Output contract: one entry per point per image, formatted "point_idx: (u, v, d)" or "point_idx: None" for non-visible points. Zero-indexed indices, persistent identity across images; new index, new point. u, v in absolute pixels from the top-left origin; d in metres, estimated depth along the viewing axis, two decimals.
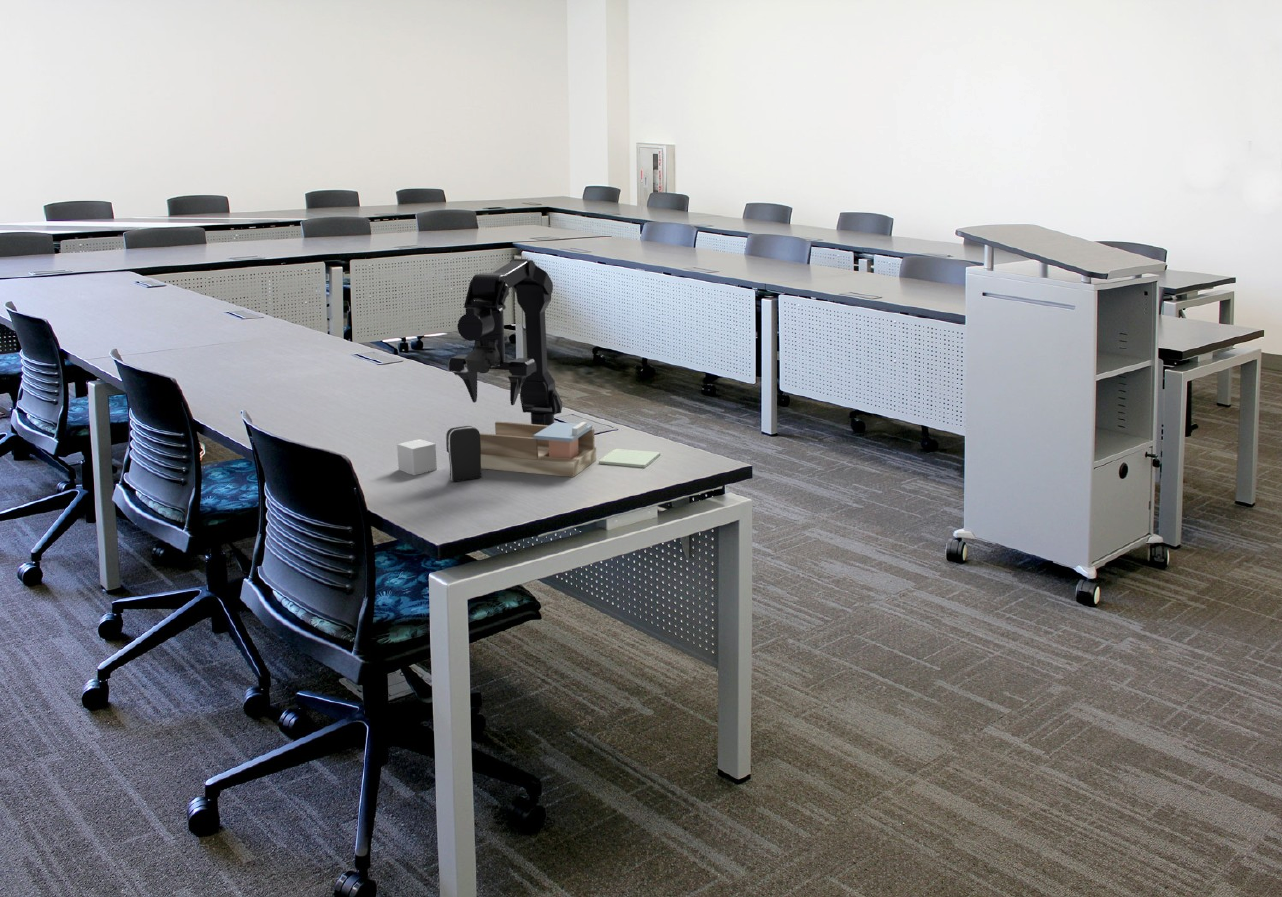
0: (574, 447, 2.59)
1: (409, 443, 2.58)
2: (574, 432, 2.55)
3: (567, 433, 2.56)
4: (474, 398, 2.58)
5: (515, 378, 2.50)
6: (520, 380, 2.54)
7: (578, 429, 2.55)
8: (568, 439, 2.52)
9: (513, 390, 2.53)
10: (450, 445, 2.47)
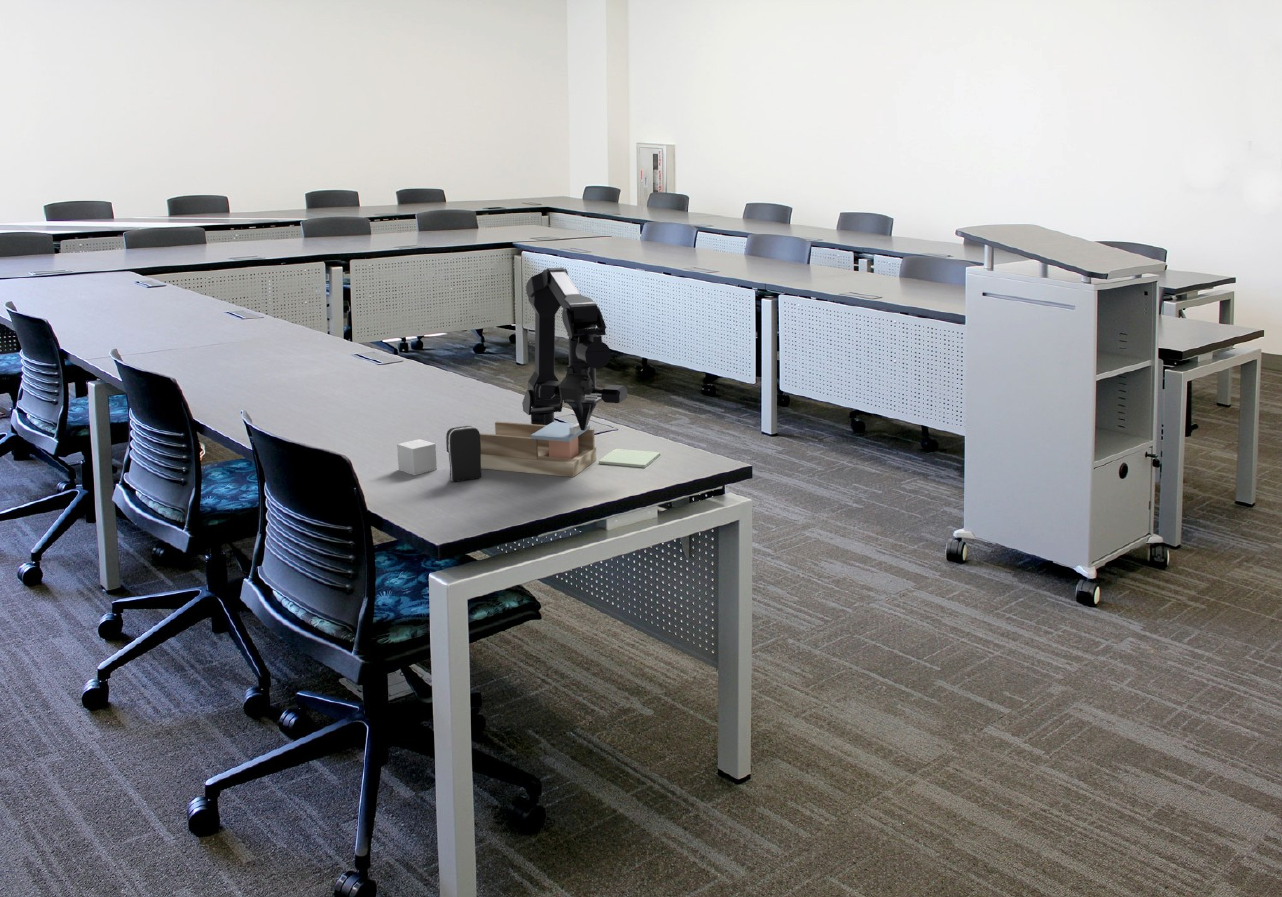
0: (574, 447, 2.59)
1: (409, 443, 2.58)
2: (571, 432, 2.55)
3: (564, 433, 2.56)
4: (582, 426, 2.57)
5: (588, 404, 2.52)
6: (592, 405, 2.56)
7: (575, 429, 2.55)
8: (565, 439, 2.52)
9: (585, 416, 2.55)
10: (450, 445, 2.47)
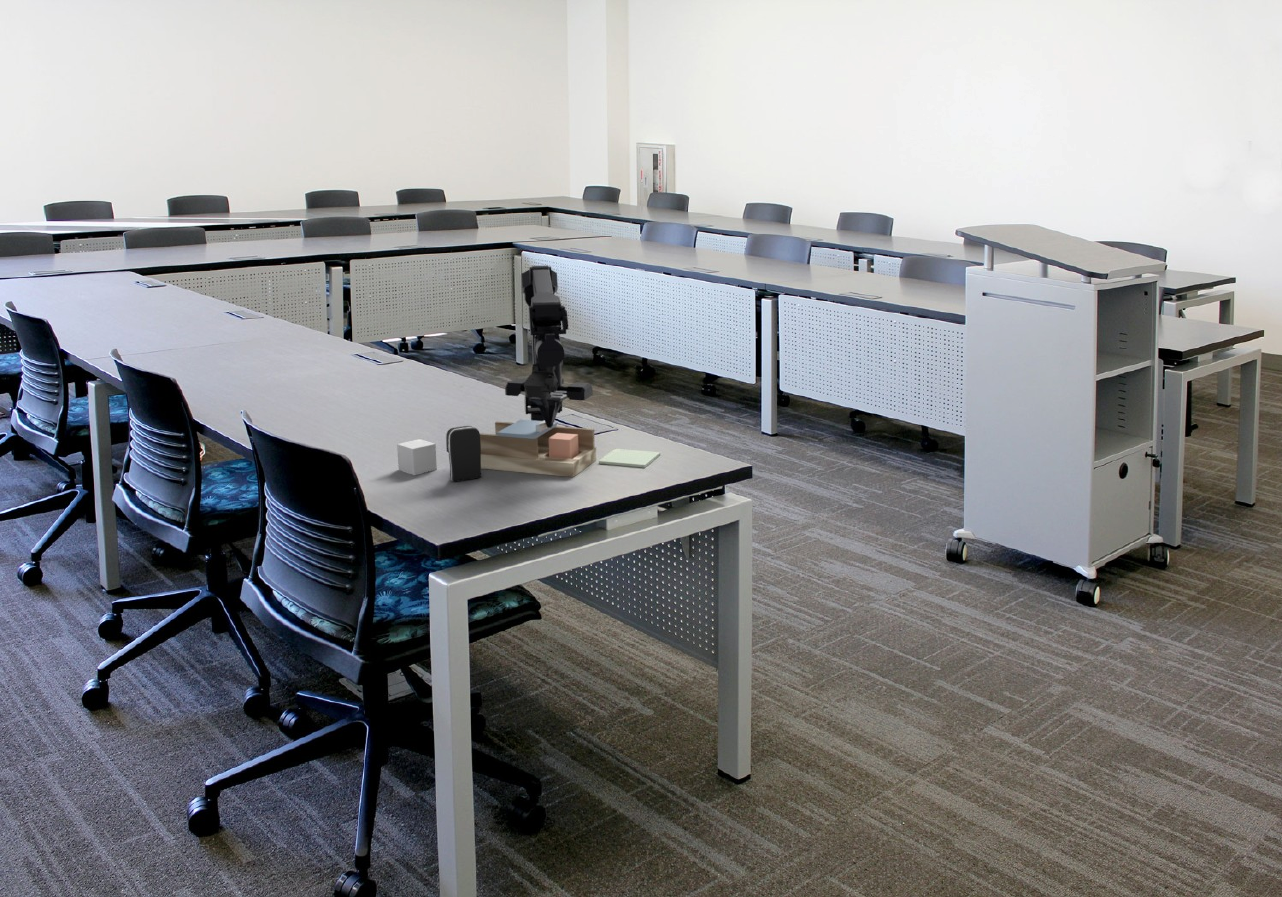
0: (574, 447, 2.59)
1: (409, 443, 2.58)
2: (538, 429, 2.57)
3: (531, 430, 2.58)
4: (549, 423, 2.59)
5: (554, 401, 2.55)
6: (558, 403, 2.59)
7: (542, 426, 2.58)
8: (531, 436, 2.55)
9: (551, 413, 2.57)
10: (450, 445, 2.47)
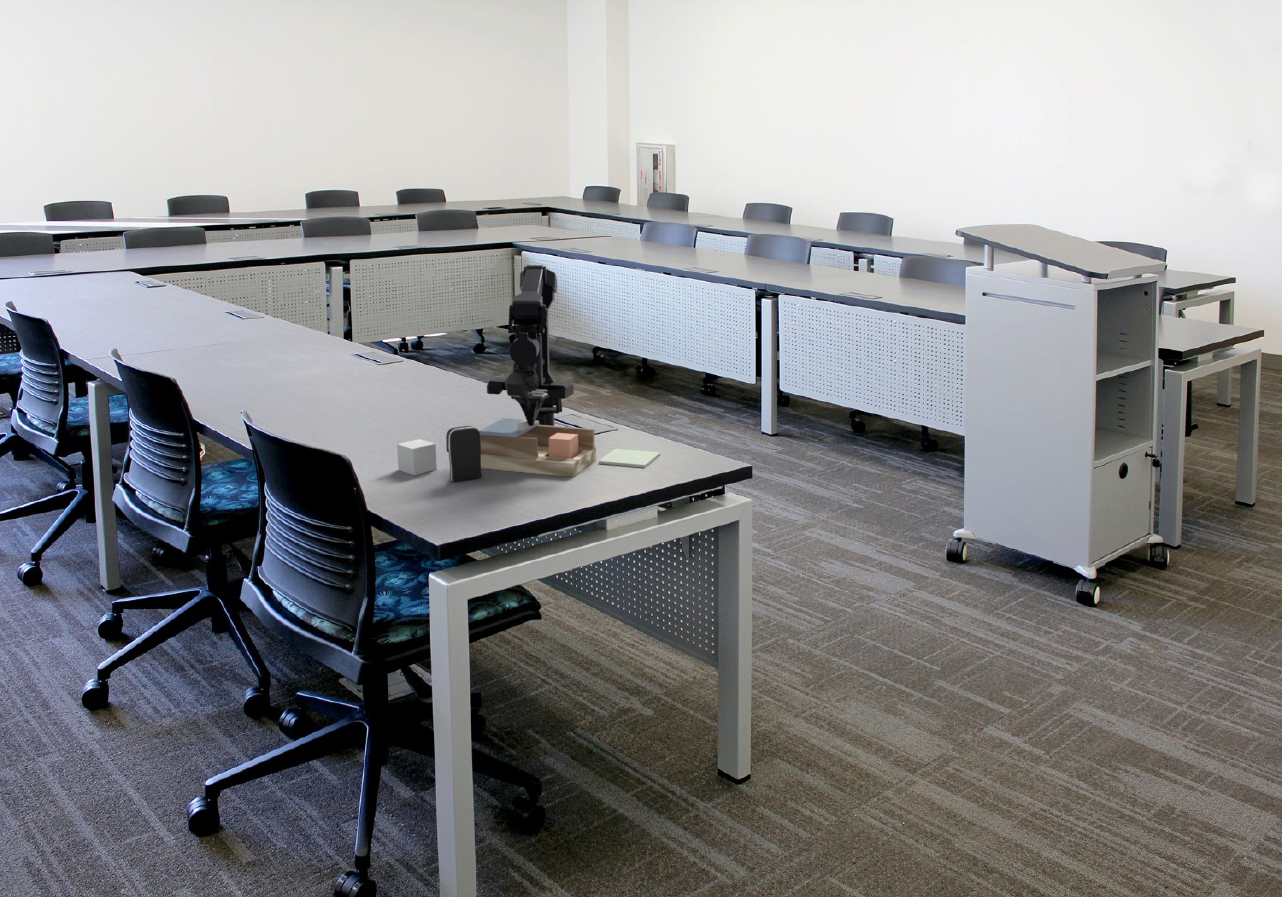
0: (574, 447, 2.59)
1: (409, 443, 2.58)
2: (519, 428, 2.59)
3: (513, 429, 2.60)
4: (530, 422, 2.60)
5: (535, 400, 2.56)
6: (539, 401, 2.60)
7: (523, 425, 2.59)
8: (512, 434, 2.56)
9: (532, 411, 2.59)
10: (450, 445, 2.47)
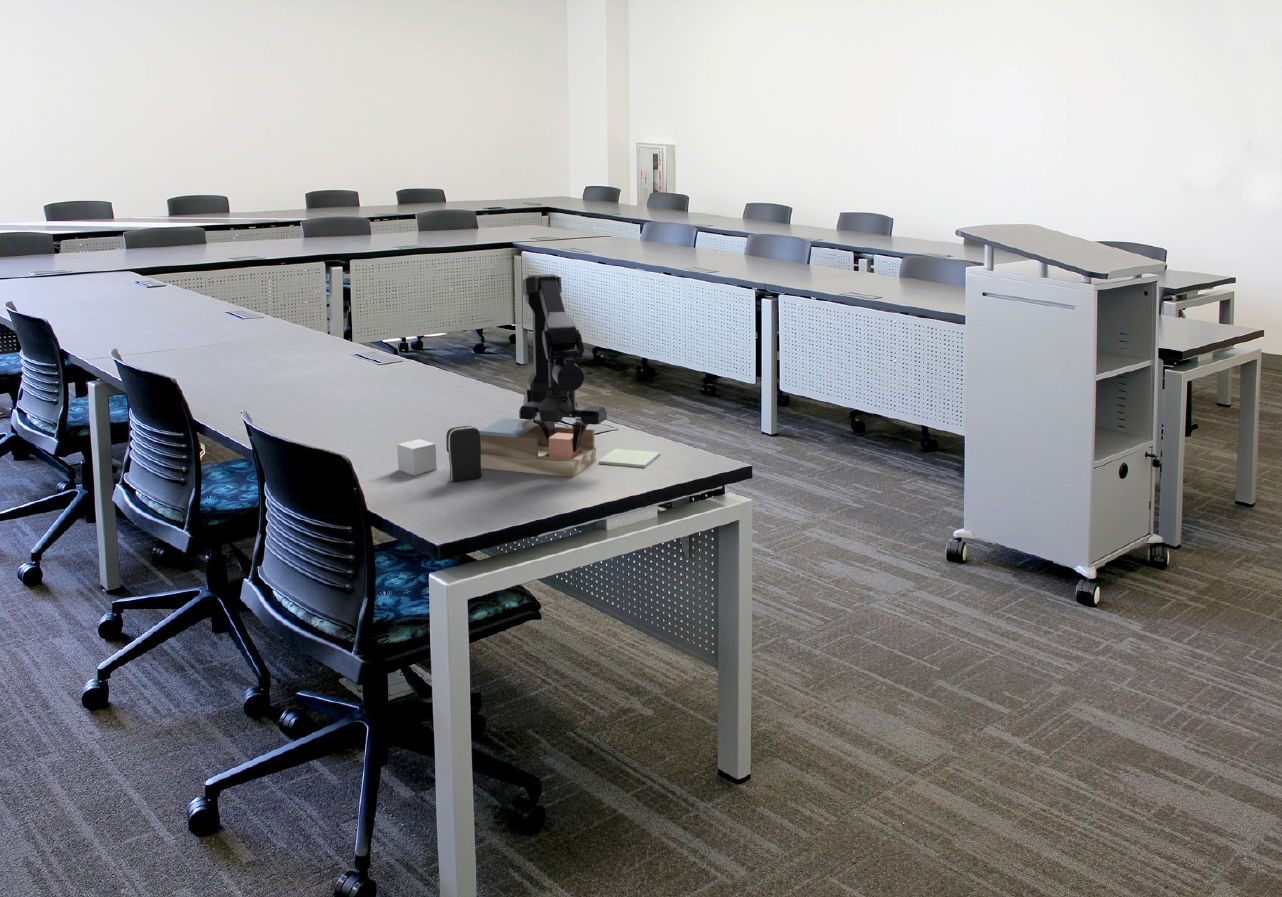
0: None
1: (409, 443, 2.58)
2: (519, 428, 2.59)
3: (513, 429, 2.60)
4: None
5: (579, 426, 2.54)
6: (582, 427, 2.58)
7: (523, 425, 2.59)
8: (512, 434, 2.56)
9: (575, 437, 2.57)
10: (450, 445, 2.47)
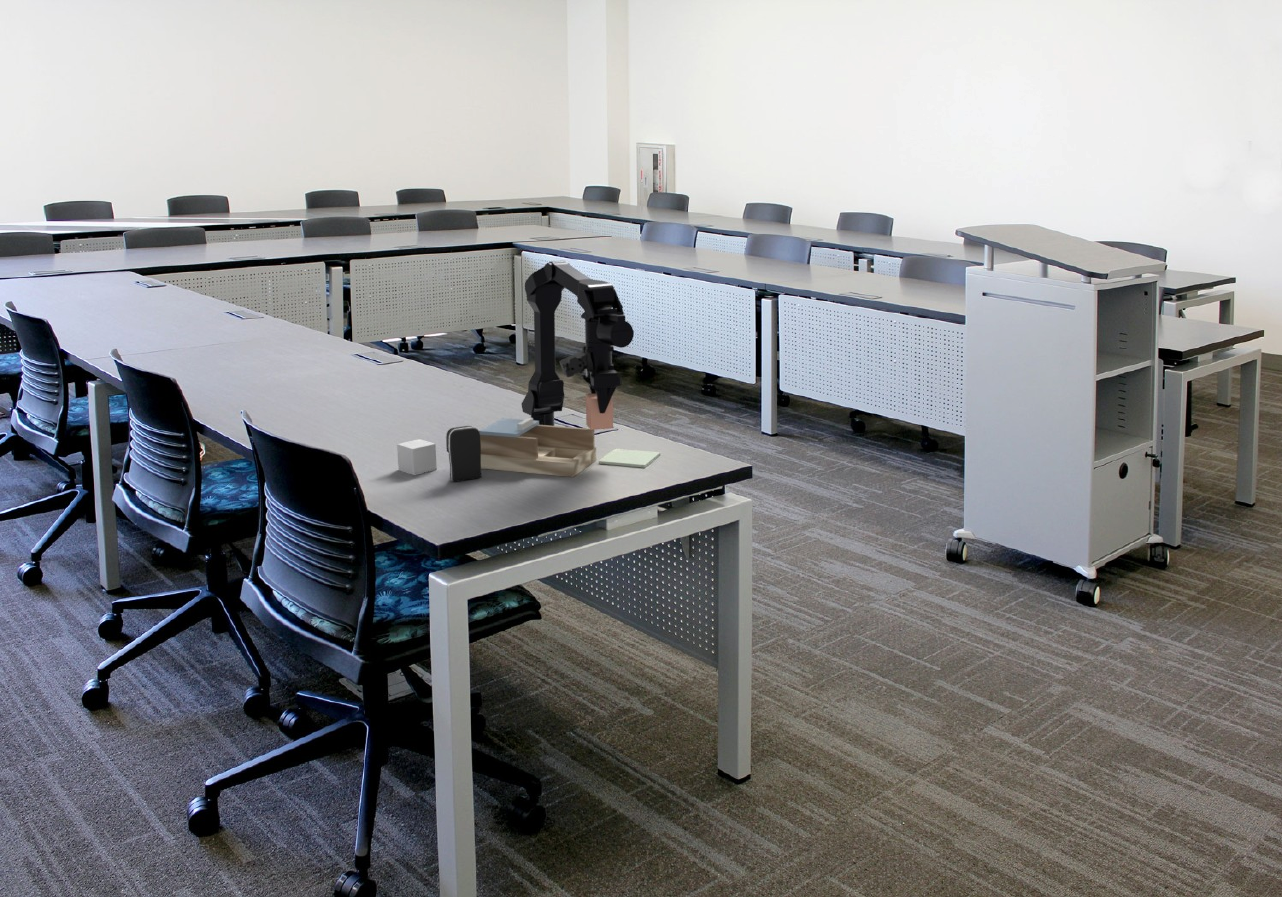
0: None
1: (409, 443, 2.58)
2: (519, 428, 2.59)
3: (513, 429, 2.60)
4: None
5: (591, 386, 2.53)
6: (608, 390, 2.55)
7: (523, 425, 2.59)
8: (512, 434, 2.56)
9: (598, 398, 2.56)
10: (450, 445, 2.47)
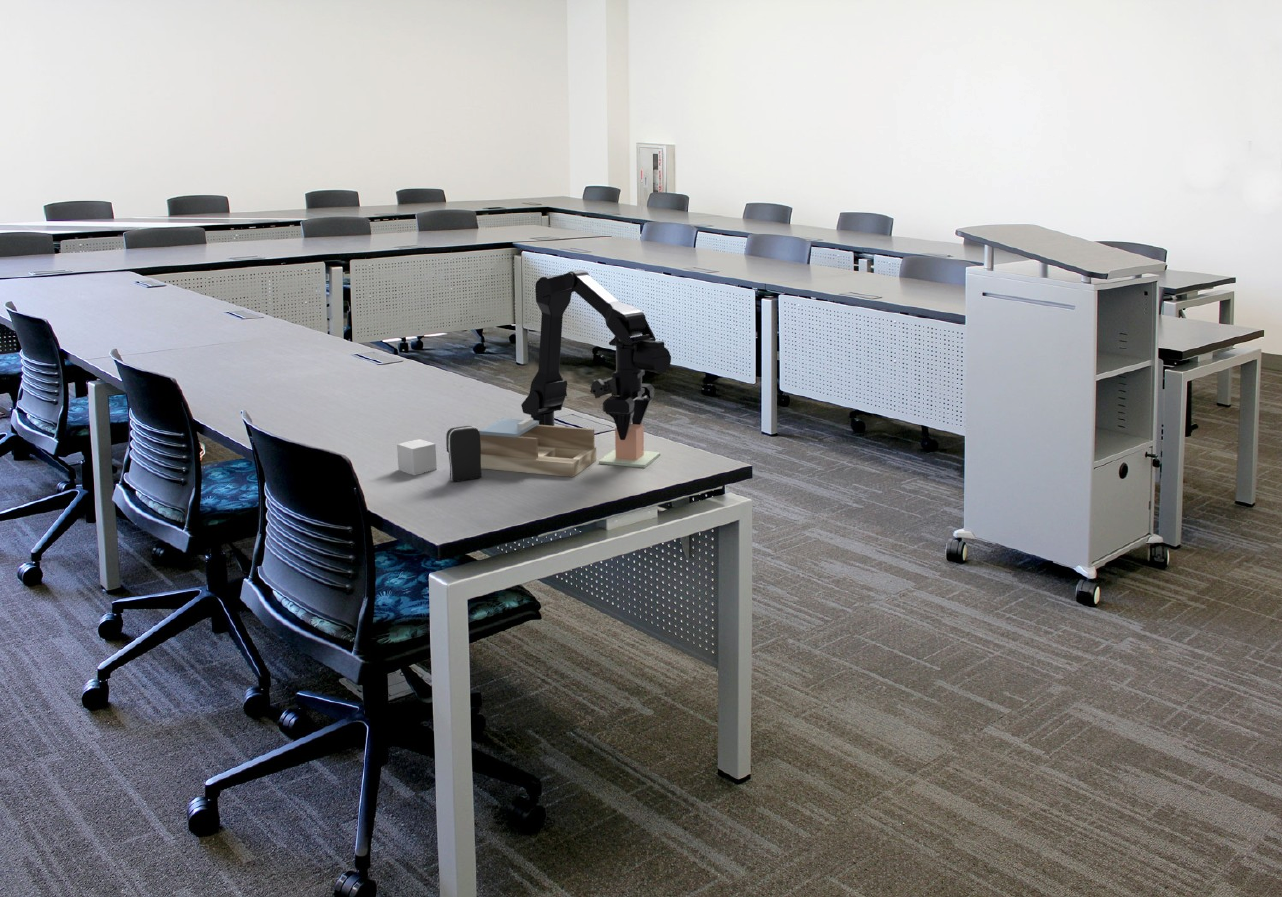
0: (626, 440, 2.63)
1: (409, 443, 2.58)
2: (519, 428, 2.59)
3: (513, 429, 2.60)
4: None
5: None
6: (625, 418, 2.57)
7: (523, 425, 2.59)
8: (512, 434, 2.56)
9: None
10: (450, 445, 2.47)
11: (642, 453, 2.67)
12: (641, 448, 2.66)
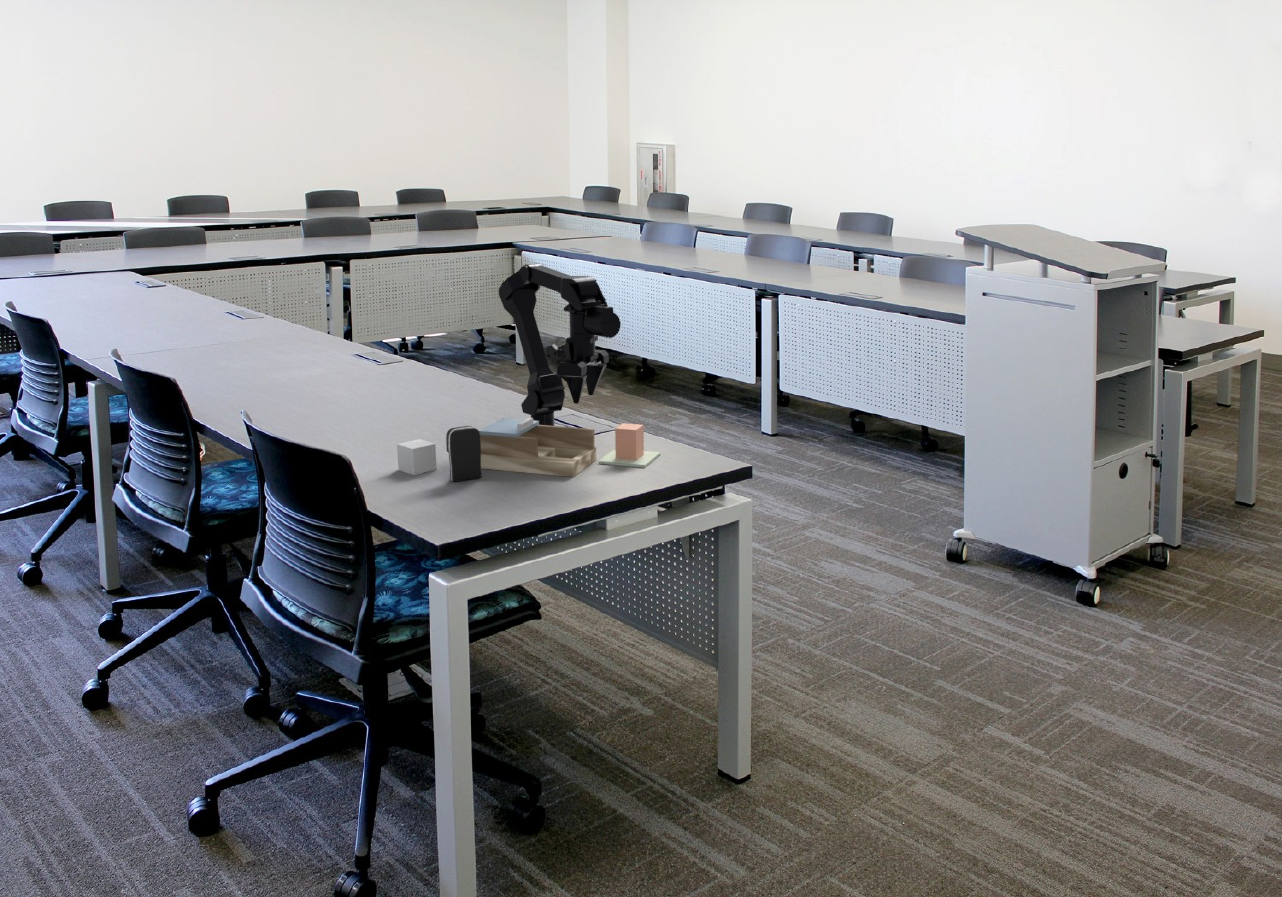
0: (626, 440, 2.63)
1: (409, 443, 2.58)
2: (519, 428, 2.59)
3: (513, 429, 2.60)
4: (589, 391, 2.76)
5: None
6: (578, 382, 2.64)
7: (523, 425, 2.59)
8: (512, 434, 2.56)
9: None
10: (450, 445, 2.47)
11: (642, 453, 2.67)
12: (641, 448, 2.66)
